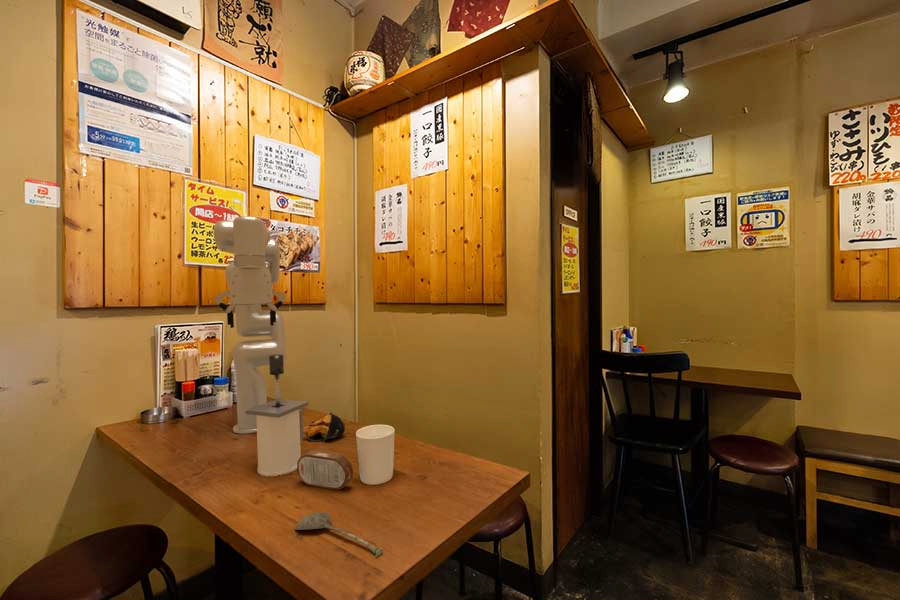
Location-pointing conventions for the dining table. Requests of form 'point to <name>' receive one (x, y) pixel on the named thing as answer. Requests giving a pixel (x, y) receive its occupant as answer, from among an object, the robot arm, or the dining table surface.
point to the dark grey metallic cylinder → (276, 373)
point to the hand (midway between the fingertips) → (252, 326)
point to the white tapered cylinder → (375, 453)
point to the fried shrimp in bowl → (325, 428)
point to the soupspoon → (323, 521)
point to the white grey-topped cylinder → (278, 436)
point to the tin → (325, 469)
